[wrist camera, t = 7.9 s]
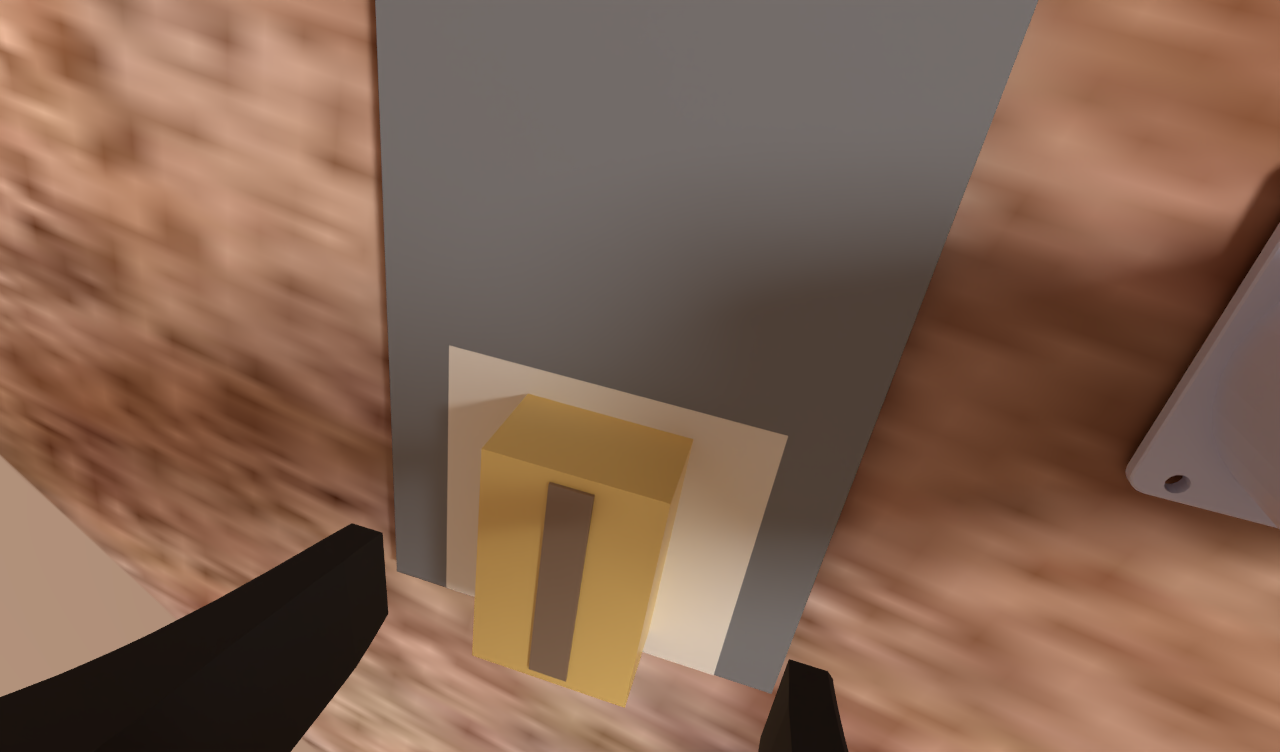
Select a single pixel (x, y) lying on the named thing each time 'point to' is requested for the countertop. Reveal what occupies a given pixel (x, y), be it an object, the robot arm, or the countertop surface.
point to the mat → (672, 259)
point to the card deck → (573, 543)
